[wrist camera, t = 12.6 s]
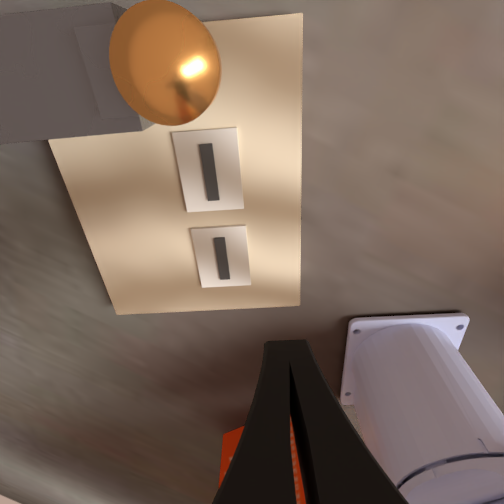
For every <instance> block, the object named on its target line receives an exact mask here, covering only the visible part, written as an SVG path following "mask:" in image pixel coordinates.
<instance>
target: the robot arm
mask: <svg viewBox="0 0 504 504" xmlns="http://www.w3.org/2000/svg"><path fill="white" fill-rule="evenodd" d="M468 323H469V317H468V316H467V315H466V314H465V313H448V314H427V315H405V316H384V317H363V318H354V319H352V320H351V321H350V322H349V326H348V335H347V343H346V351H345V360H344V368H343V377H342V385H341V393H340V401H341V403H342V404H344V405H354V408H355V412H356V415H357V419H358V422H359V425H360V429H361V432H362V436H363V439H364V442H363V440H362V439H361V437H360V436H359V434H358V433H357V431H356V430H355V428H354V427H353V425H352V424H351V422H350V420H349V419H348V417H347V416H346V414H345V412H344V411H343V409H342V407H341V406H340V404H339V402H338V401H337V399H336V397H335V395H334V394H333V392H332V390H331V388H330V387H329V385H328V383H327V381H326V379H325V377H324V375H323V373H322V371H321V369H320V367H319V365H318V363H317V361H316V359H315V356H314V354H313V352H312V349H311V347H310V344H309V342H308V341H307V340H285V341H267V342H266V343H265V344H264V354H263V361H262V367H261V372H260V376H259V380H258V384H257V388H256V391H255V395H254V398H253V402H252V405H251V408H250V411H249V414H248V417H247V420H246V423H245V426H244V429H243V432H242V434H241V437H240V440H239V442H238V445H237V448H236V450H235V453H234V455H233V458H232V460H231V462H230V465H229V467H228V469H227V472H226V474H225V476H224V479H223V481H222V483H221V485H220V487H219V490H218V492H217V494H216V496H215V498H214V501H213V503H212V504H297V501H296V492H295V482H294V473H293V463H292V453H291V442H290V416H291V421H292V427H293V433H294V438H295V444H296V449H297V455H298V461H299V466H300V472H301V477H302V483H303V488H304V494H305V501H306V504H504V415H503V414H502V412H501V411H500V409H499V408H498V407H497V405H496V404H495V402H494V401H493V400H492V398H491V397H490V395H489V394H488V393H487V391H486V390H485V388H484V387H483V385H482V384H481V383H480V381H479V380H478V378H477V377H476V376H475V374H474V373H473V371H472V370H471V369H470V367H469V366H468V364H467V363H466V361H465V360H464V359H463V357H462V356H461V354H460V353H459V352H458V349H459V346H460V344H461V341H462V339H463V336H464V333H465V331H466V328H467V326H468ZM356 329H358V330H356ZM354 330H355V331H354Z"/></svg>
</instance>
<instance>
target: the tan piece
mask: <svg viewBox="0 0 504 504" xmlns="http://www.w3.org/2000/svg"><path fill="white" fill-rule="evenodd" d="M202 23H203V24H204V25H205V26H206V27H207V29H208V30H209V32H210V33H211V35H212V36H213V38H214V40H215V42H216V45H217V47H218V50H219V54H220V58H221V66H222V76H221V83H220V87H219V91H218V93H217V95H216V98H215V99H214V101H213V103H212V104H211V105H210V106H209V108H208V109H207V110H206V111H204V112H203V113H202V114H201V115H200V116H199V117H198V118H196V119H195V120H193V121H191V122H189V123H186V124H183V125H178V126H166V125H160V124H154V125H152V126H150V127H149V128H147V129H145V130H144V131H138V132H127V133H116V134H105V135H94V136H83V137H72V138H61V139H50V140H48V142H49V144H50V147H51V149H52V152H53V154H54V157H55V159H56V162H57V164H58V167H59V169H60V172H61V174H62V177H63V180H64V182H65V185H66V187H67V190H68V192H69V195H70V197H71V200H72V202H73V205H74V207H75V210H76V212H77V215H78V218H79V220H80V223H81V225H82V228H83V230H84V233H85V235H86V238H87V240H88V243H89V245H90V248H91V250H92V253H93V256H94V258H95V261H96V263H97V266H98V268H99V271H100V273H101V276H102V278H103V281H104V283H105V286H106V288H107V291H108V294H109V296H110V299H111V301H112V304H113V306H114V309H115V311H116V314H117V315H123V314H143V313H163V312H184V311H204V310H224V309H244V308H264V307H284V306H300V260H301V155H302V50H303V13H297V14H286V15H276V16H265V17H254V18H243V19H232V20H221V21H210V22H202Z"/></svg>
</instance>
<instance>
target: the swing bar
mask: <svg viewBox="0 0 504 504" xmlns="http://www.w3.org/2000/svg"><path fill="white" fill-rule="evenodd" d="M221 76H222V66H221V58H220V54H219V50H218V47H217V45H216V42H215V40H214V38H213V36H212V35H211V33H210V32H209V30H208V29H207V27H206V26H205V25H204V24H203V23H202V22H201V21H200V20H199V19H198V18H197V17H195V16H194V15H193V14H192V13H190V12H189V11H188V10H186V9H185V8H183V7H182V6H180V5H178V4H175V3H173V2H170V1H166V0H146V1H142V2H140V3H137V4H135V5H134V6H132V7H130V8H129V9H128V10H127V9H124V8H122V7H120V6H117V5H115V4H113V3H101V4H92V5H83V6H75V7H66V8H57V9H48V10H39V11H30V12H22V13H13V14H4V15H0V144H6V143H17V142H28V141H39V140H50V139H61V138H72V137H83V136H94V135H105V134H116V133H127V132H138V131H144V130H145V129H147V128H149V127H150V126H152V125H154V124H160V125H166V126H178V125H183V124H186V123H189V122H191V121H193V120H195V119H196V118H198V117H199V116H200V115H201V114H202V113H203V112H204V111H206V110H207V109H208V108H209V106H210V105H211V104H212V103H213V101H214V99H215V98H216V95H217V93H218V91H219V87H220V83H221Z"/></svg>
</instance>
